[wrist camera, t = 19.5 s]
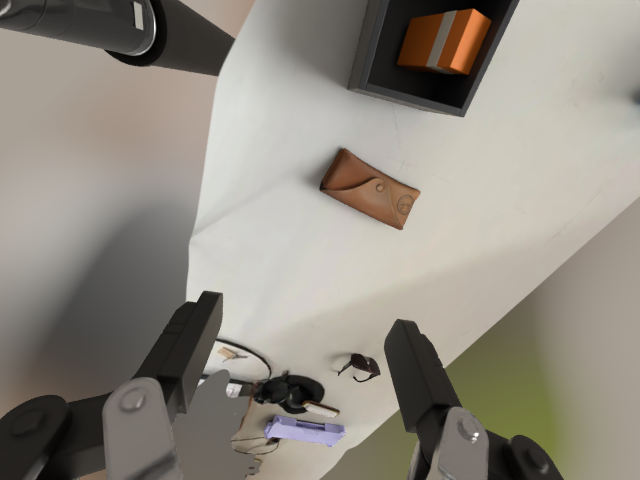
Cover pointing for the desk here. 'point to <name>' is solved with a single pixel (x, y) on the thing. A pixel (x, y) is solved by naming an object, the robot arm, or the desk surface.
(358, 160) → the sunglasses case
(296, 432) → the computer part
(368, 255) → the desk surface
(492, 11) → the dark grey storage bin
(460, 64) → the block
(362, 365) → the sunglasses
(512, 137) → the desk surface
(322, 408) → the harmonica
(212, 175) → the desk surface
